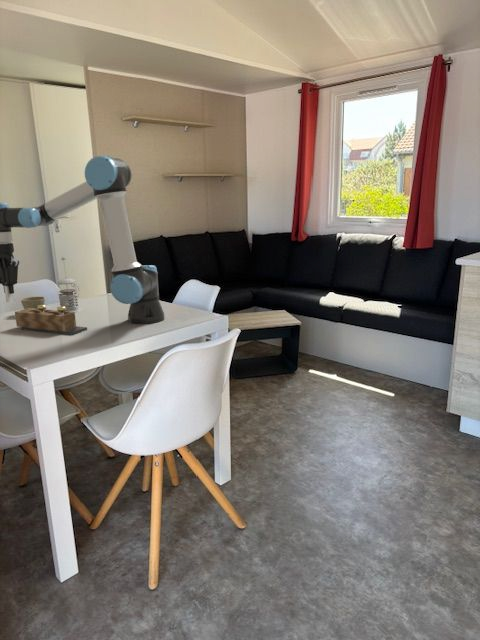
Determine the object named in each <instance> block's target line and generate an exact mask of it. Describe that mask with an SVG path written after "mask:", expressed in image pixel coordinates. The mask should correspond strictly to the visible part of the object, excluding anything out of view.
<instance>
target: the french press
mask: <svg viewBox="0 0 480 640" xmlns="http://www.w3.org/2000/svg"><path fill="white" fill-rule="evenodd" d="M66 258H67V257H63V256H62V257H61V261H66V260H67V259H66ZM63 266H64V267H63V268H64V269H66V265H65V263H63ZM64 274H65V275H64V276H65V277H64V278H62V279H60V280H58V281H57V282H56V284H57V285H66V286H68V285H70V286H71V287H73V288H74V289H73V288H66V289H61V290H59V291H58V293H59V294H58V300H59V305H60V306H65V308H66V311H69V312H75V314H76V313H79V312H80V311H82V310H81V308H79V303H78V302H79V301H78V298H79V297H80V294H78V293H77V288H78V290H80V286H79V285H78V284H77V283H76V282H77V281H76V280H75V279H74V278H67V273H66V271H64ZM76 286H77V287H76ZM60 306H59V307H60Z"/></svg>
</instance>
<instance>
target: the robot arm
mask: <svg viewBox="0 0 480 640" xmlns="http://www.w3.org/2000/svg"><path fill="white" fill-rule="evenodd" d="M132 175H133V174H132V170H131V168H130V166H129V165H128V163H127V162H125V160H123V159H121V158H117V157H116V158H114V157H110V156H108V155H98V156H93V157H92V158H90V159H89V160H88V162H87V163H86V165H85V167H84V178H85V181H84V182H82V183H81V184H78V185H76V186H75V187H73V188H71V189H69V190H67V191H65V192H63V193H61V194H60V195H58V196H55V197H54V198H52V199H50V200H48V201H46V202H45V203H43V204H40V205H39V206H35V207H34V206H32V207H29V206H27V207H9V204H8V203H7V202H0V284H1V285H2V286H3V292H4V294H5V301H6V303H11V302H15V295H14V294H15V289H14V288H15V287H14V286H15V285H16V284H17V283H18V275H19V273H18V271H19V266H20V265H19V264H20V261H19V260H16V259H15V256H14V255H13V254H14V252H15V249H14V248H15V247H14V243H13V234H12V229H13V228H23V229H24V228H25V229H30V228H37V227H42V226H43V227H46V226H49V225H52V224H54V223H55V221H56V220H57V219H60V218H61V217H64V216H66V215H68V214H69V213H71V212H74V211H77V210H78V209H79V208H81V207H83V206H85V205H87V204H89V203H91V202H93V201H95V200H99V202H100V206H101V211H102V216H103V220H104V225H105V229H106V230H105V231H106V233H107V239H108V242H109V247H110V251H111V256H112V261H113V267H112V268H111V271H110V272H111V275H112V276H111V277H112V280H111V282H110V285H109V286H110V287H109V290H110V292H111V294H112V295H111V296H112V297H113V298H114V299H115V300H117V302H119V303H121V304H124V305H129V309H128V313H127V314H128V315H127V320H128V322H129V323H131V324H138V325H139V324H140V325H141V324H142V325H143V324H154V323H159V322H161V321H163V320H165V312H164V309H163V307H162V305H161V302H160V293H159V279H158V278H159V277H158V276H159V275H158V274H159V272H158V270H157V269H158V268H157V267H156V265H155V264H154V265H152V264H151V265H149V264H148V265H147V264H146V265H142V264H141V263H140V262H138V259H137V255H136V251H135V247H134V242H133V236H132V233H131V231H132V230H131V228H130V224H129V217H128V212H127V208H126V204H125V202H126V201H125V196H126V194H127V187H128V186H129V185H130V183H131V180H132Z"/></svg>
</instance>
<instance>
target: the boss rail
mask: <svg viewBox="0 0 480 640" xmlns="http://www.w3.org/2000/svg"><path fill="white" fill-rule="evenodd" d="M37 307H38V310H40V312H41V314H42V313H44V310H47V305H46V304H44V305H38V306H37ZM56 309H57V311H58V312H60V315H64V311H66V308H65V306H57V307H56ZM20 328H21V330H22V331H32V332H38V333H39V332H41V333H49V334H58V335H60V334H61V335H66V336H67V335H69V336H75V335H78V334H80V333H82V331H83V332H85V331H87V330H88V327H85V326H80V325H78V326H77V325H76V327H74V328H71V329H69V330H66V331H56V330H46V329H37V328H27V327H20Z"/></svg>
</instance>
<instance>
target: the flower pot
mask: <svg viewBox="0 0 480 640" xmlns="http://www.w3.org/2000/svg"><path fill="white" fill-rule="evenodd" d="M20 302H21V305H22V307H23V309H27V308H33V309H38V307H37V306H38V305H45V302H46V297H44V296H28V297H24V298H21V299H20Z"/></svg>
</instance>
